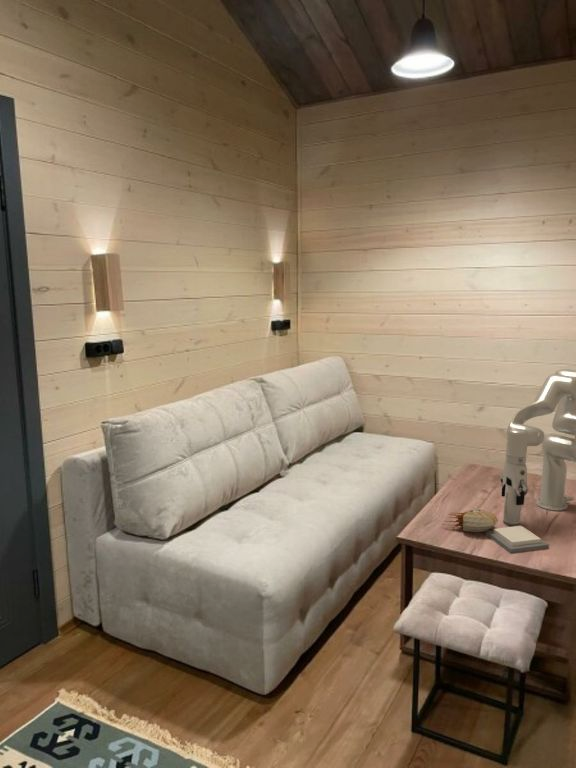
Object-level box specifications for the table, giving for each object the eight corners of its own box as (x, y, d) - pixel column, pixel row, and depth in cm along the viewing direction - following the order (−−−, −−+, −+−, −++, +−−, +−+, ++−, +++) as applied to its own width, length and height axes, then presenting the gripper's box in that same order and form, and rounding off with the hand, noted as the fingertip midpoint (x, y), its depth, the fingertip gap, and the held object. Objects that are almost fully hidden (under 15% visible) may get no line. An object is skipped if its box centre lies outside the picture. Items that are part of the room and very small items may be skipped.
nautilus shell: (441, 534, 229) (442, 521, 243) (499, 537, 222) (497, 524, 236) (440, 514, 228) (442, 503, 242) (499, 517, 221) (497, 505, 236)
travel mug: (519, 520, 240) (522, 474, 236) (519, 527, 234) (523, 479, 230) (503, 518, 242) (506, 472, 238) (503, 525, 236) (506, 477, 232)
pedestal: (521, 530, 231) (522, 523, 231) (548, 548, 216) (549, 540, 215) (485, 534, 228) (486, 527, 227) (510, 553, 212) (510, 545, 212)
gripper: (537, 465, 226) (534, 507, 228) (511, 452, 242) (507, 492, 245) (520, 466, 224) (517, 509, 227) (494, 453, 240) (491, 493, 243)
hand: (512, 500), depth 236 cm, fingers open, 9 cm apart
